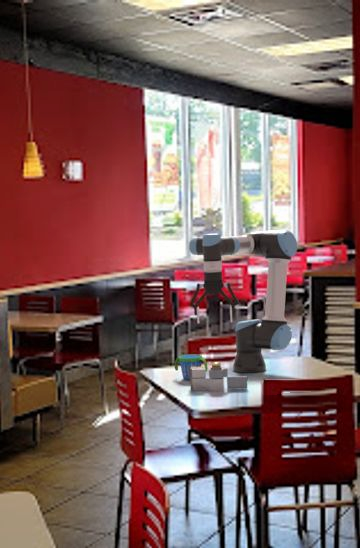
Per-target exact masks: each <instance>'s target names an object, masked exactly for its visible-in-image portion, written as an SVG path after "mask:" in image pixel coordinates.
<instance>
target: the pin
mask: <svg viewBox="0 0 360 548" xmlns="http://www.w3.org/2000/svg"><path fill="white" fill-rule="evenodd" d="M221 366H222V365H221V362H217V361H215V362H212V363H211V368H212V370H221ZM216 379H221V378H216Z"/></svg>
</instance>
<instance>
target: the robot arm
mask: <svg viewBox="0 0 360 548" xmlns="http://www.w3.org/2000/svg"><path fill="white" fill-rule="evenodd" d="M188 250H189V252H190V253H191V255H195V256H203V261H202V262H203V271H204V273H203V283H197V284H196V290H195V292H194V293H193V296H192V298H191V301H190V303H189V306H190V307H192V308H193V313H194V316H196V320H197V324H198V325H199V324H200V307H199V305H200V303H202V301H203V300H204V298H205V297H206V296H207V295H208V294H209V295H213V294H215V295H218V294H220V295H221V296H222V297H223V298H224V299H225V300H226V302H228V304H230V306H229V315H230V321H229V322H230V323H233V315H235V313H236V311H235V309H236V308H235V307H236V306H237V305H239V304H240V302H239V300H238V298H237V297H236V295H235V293H234V291H233V289H232V288H231V287H232V286H231V283H230V282H229V281H228V282H224V281H223V272H222V270H223V264H222V263H223V260H222V259H223V258H222V256H223V257H225V256H232V255H236V254H238V253H239V254H240V253H241V254H242V255H252V256H260V257H265V259H264V260H265V261H266V262H267V278H266V281H267V284H266V296H265V297H266V298H265V311H264V312H265V314H264V316H263V317H262V318H261V319H260V318H259V319H249V320H247V319H246V320H242V321H238V322H237V323H236V324H235V347H236V348H235V349H236V350H235V352H236V353H235V354H236V355H235V358H234V361H233V364H232V370H233V371H234V372H236V373H246V374H247V373H258V372H260V373H261V372H264V371H266V370H267V367H266V366H267V364H266V362H265V359H264V356H263V352H262V350H271V351H283V350H285V349H286V348H287V347H288V346H289V345H290V343H291V341H292V337H293V332H292V328H291V326H290V325H289V324H288V320H287V319H286V317H285V309H286V306H285V305H286V294H287V293H286V292H287V276H288V265H289V263H291V262H292V257H294V256H295V255H296V254H297V251H298V242H297V238H296V237H295V235H294V234H293V232H291V231H289V230H283V229H282V230H281V229H280V230H259V231H253V232H249V233H243V234H241V235H237V236H236V235H234V236H232V235H230V236H221V234H220V233H205V234H203V235H202V237H199V236H198V237H193V238H191V239H190V241H189V244H188ZM224 287H225V289H227V291H228V292H229V294H230V295H231V297H232V299H233V300H232V299H231V298H230V297H229V296H228V295H227V294H226V293H225V291H224V289H223V288H224ZM202 288H204V292H203V293H202V294H201V296H200V297H199V298H198V299H197V301H196V298H197V297H198V294H199V292H200V290H202ZM222 289H223V290H222ZM195 301H196V302H195ZM233 301H234V302H233Z"/></svg>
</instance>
